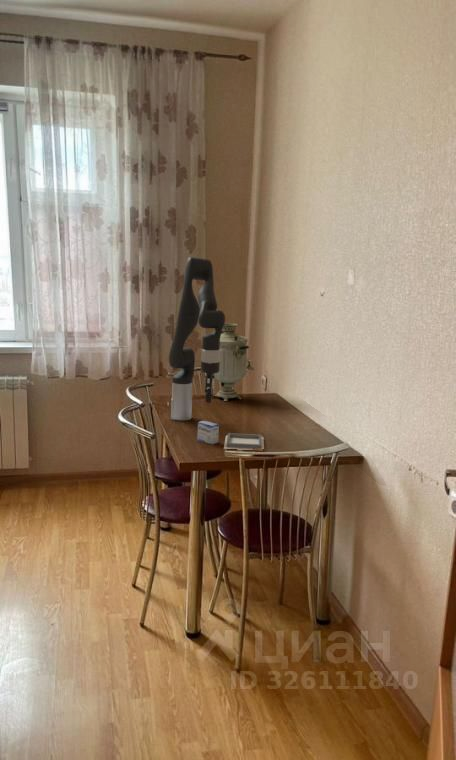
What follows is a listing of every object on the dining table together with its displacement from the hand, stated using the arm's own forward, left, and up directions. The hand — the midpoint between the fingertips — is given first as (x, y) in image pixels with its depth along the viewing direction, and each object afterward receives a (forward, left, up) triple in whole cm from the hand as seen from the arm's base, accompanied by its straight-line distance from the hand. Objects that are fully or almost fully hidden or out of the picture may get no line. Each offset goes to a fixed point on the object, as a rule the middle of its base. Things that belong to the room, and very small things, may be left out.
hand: (209, 399), depth 247 cm
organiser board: (+15, -1, -18) cm, 24 cm away
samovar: (+7, +78, -19) cm, 81 cm away
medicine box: (0, 0, -19) cm, 19 cm away
